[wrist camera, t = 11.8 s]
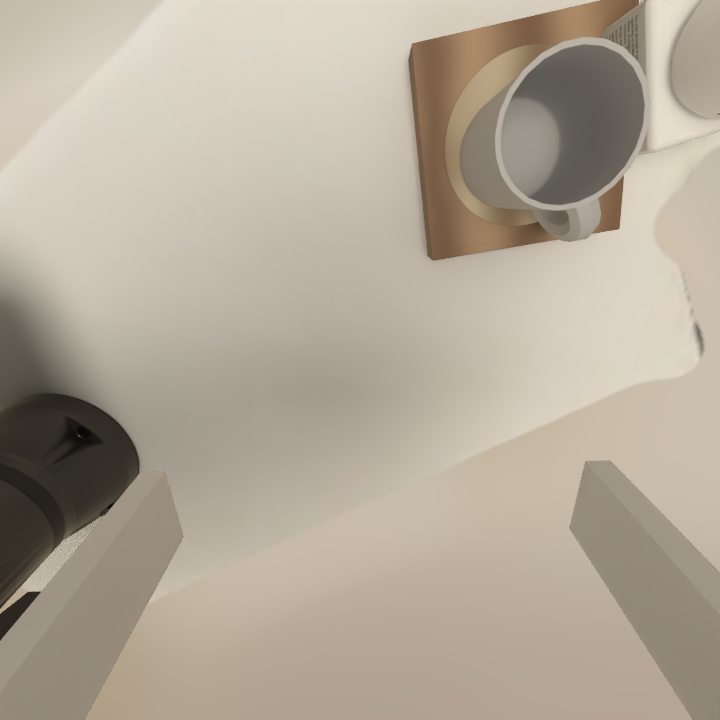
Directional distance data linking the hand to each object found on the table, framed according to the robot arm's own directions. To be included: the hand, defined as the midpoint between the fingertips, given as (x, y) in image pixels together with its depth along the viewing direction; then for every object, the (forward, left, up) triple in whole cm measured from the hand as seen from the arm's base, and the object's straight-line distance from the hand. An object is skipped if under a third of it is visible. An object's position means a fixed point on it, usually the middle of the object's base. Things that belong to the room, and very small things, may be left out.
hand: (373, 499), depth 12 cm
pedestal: (+10, +13, -24) cm, 29 cm away
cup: (+10, +11, -21) cm, 26 cm away
